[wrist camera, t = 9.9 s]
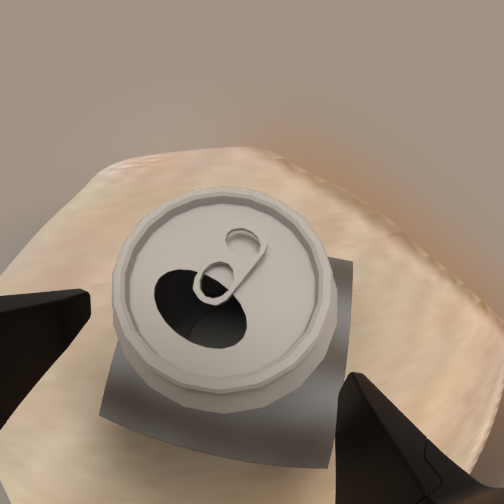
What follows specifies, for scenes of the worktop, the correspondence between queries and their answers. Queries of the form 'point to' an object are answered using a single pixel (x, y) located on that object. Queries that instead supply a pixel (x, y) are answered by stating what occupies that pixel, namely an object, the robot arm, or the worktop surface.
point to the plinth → (249, 421)
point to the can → (224, 299)
